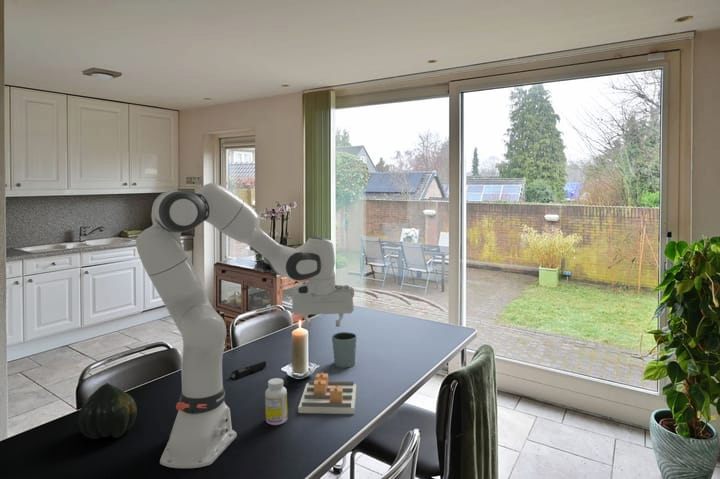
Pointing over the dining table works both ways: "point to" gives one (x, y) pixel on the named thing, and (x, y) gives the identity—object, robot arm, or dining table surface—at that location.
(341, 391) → the tab
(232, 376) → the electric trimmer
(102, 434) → the squash
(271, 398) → the supplement bottle
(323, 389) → the tab
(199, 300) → the robot arm
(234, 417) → the dining table surface
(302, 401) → the switch bank
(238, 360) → the dining table surface
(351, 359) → the green cup
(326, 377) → the tab
